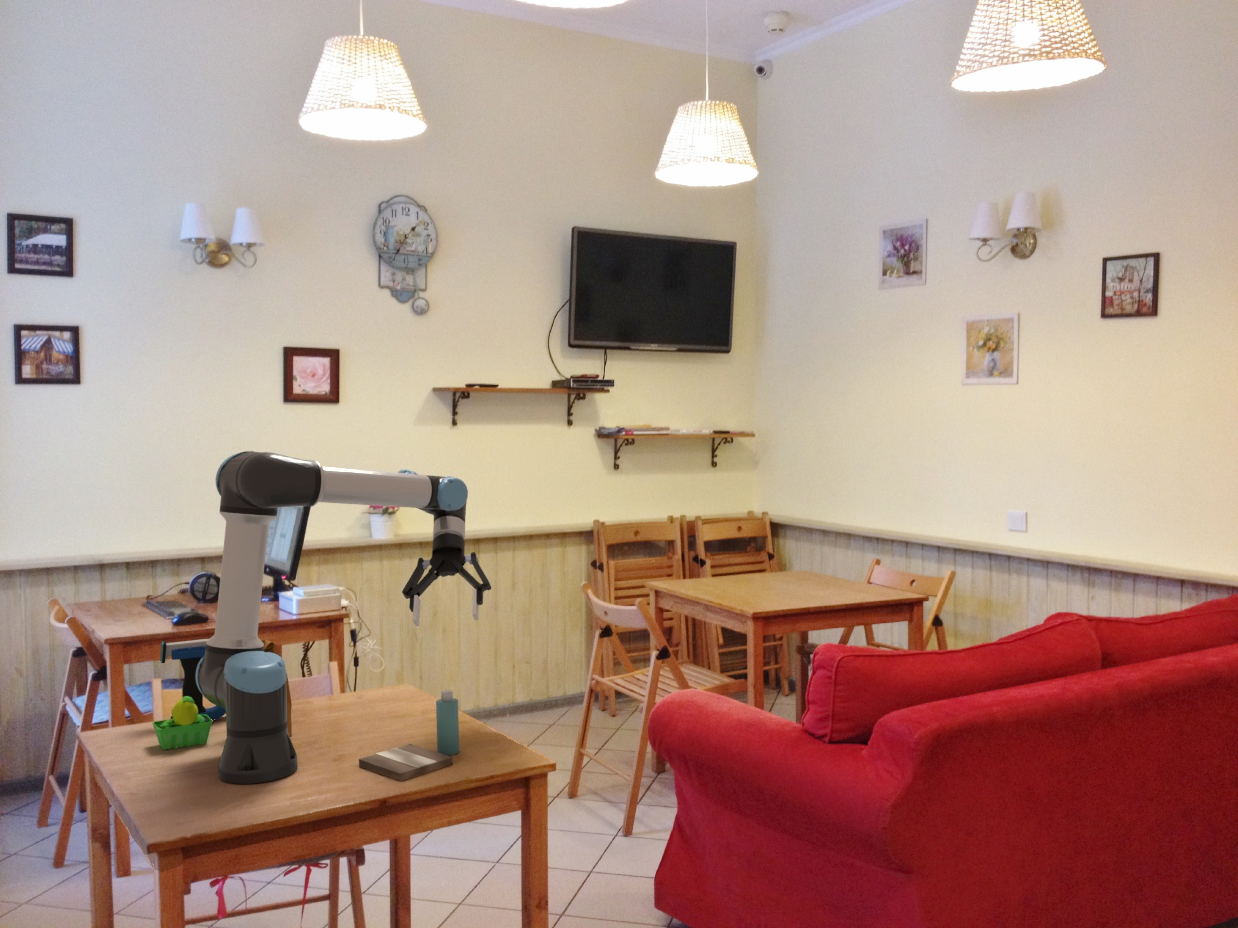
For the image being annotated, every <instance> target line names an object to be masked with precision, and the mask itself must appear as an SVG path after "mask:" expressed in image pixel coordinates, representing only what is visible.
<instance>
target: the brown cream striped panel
mask: <svg viewBox="0 0 1238 928" xmlns="http://www.w3.org/2000/svg"><path fill="white" fill-rule="evenodd" d="M453 760H454V758H453V756H452V755H450V756H448V755H444V754H441V753H438V752H437V751H435V750H432V749H427V748H425V747H422V746H418V745H416V744H413V743H410V744H409V743H408V744H405V745H403V746H398V747H393V748H389V749H387V750H383V751H379V752H376V753H375V754H372V755H368V756H365V757H362V758H361V757H360V758H359V759H358V767H360V768H362V769H365V770H368V771H371V772H374V773H377V774H380V775H382V776H385V777H388V778H391V779H394V780H396V781H399V782H402V781H405V780H406V781H407V780H408V779H412V778H414V777H418V776H420V775H424V774H427V773H429V772H430V773H431V772H433V770H434V771H436V769H437V770H439V769H440V770H441V769H443V768H445V766H446V767H449V766H451V764H452V765H454V761H453ZM442 767H443V768H442Z"/></svg>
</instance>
